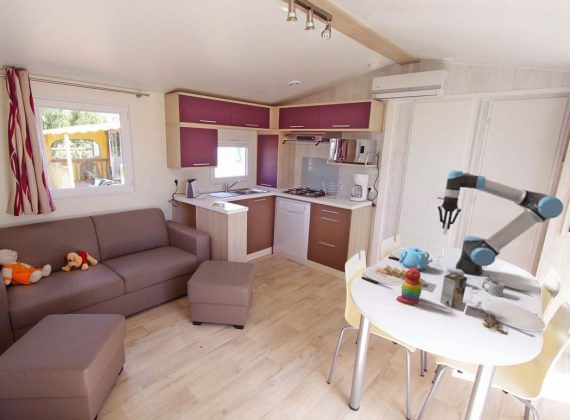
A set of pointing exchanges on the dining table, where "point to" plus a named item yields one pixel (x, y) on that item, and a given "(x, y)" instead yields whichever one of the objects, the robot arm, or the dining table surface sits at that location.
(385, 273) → the domino
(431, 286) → the domino mat
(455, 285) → the coffee box
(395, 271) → the domino
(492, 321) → the frog figurine
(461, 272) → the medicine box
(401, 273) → the domino
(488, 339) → the dining table surface
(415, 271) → the stacking bear
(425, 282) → the domino
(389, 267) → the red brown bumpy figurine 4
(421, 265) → the decorative pot
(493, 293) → the mug
